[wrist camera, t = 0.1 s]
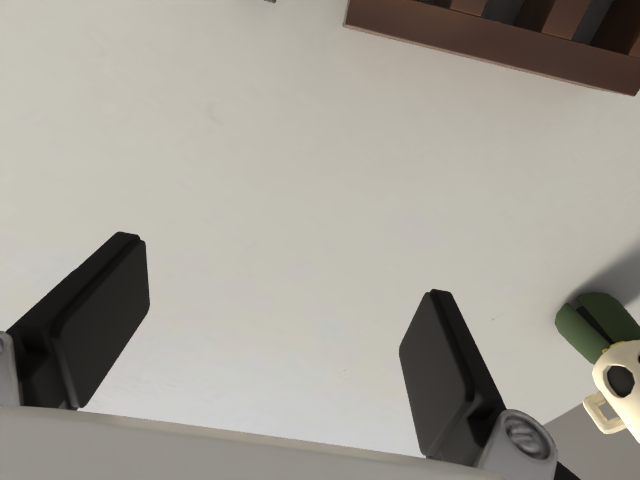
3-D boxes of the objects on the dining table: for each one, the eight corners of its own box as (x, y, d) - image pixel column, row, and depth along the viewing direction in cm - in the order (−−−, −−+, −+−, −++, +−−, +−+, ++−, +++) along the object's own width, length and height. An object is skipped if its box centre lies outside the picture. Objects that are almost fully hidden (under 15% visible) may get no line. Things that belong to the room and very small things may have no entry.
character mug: (619, 263, 33) (766, 376, 22) (649, 301, 36) (795, 421, 24) (519, 320, 37) (599, 440, 26) (551, 351, 40) (637, 473, 29)
